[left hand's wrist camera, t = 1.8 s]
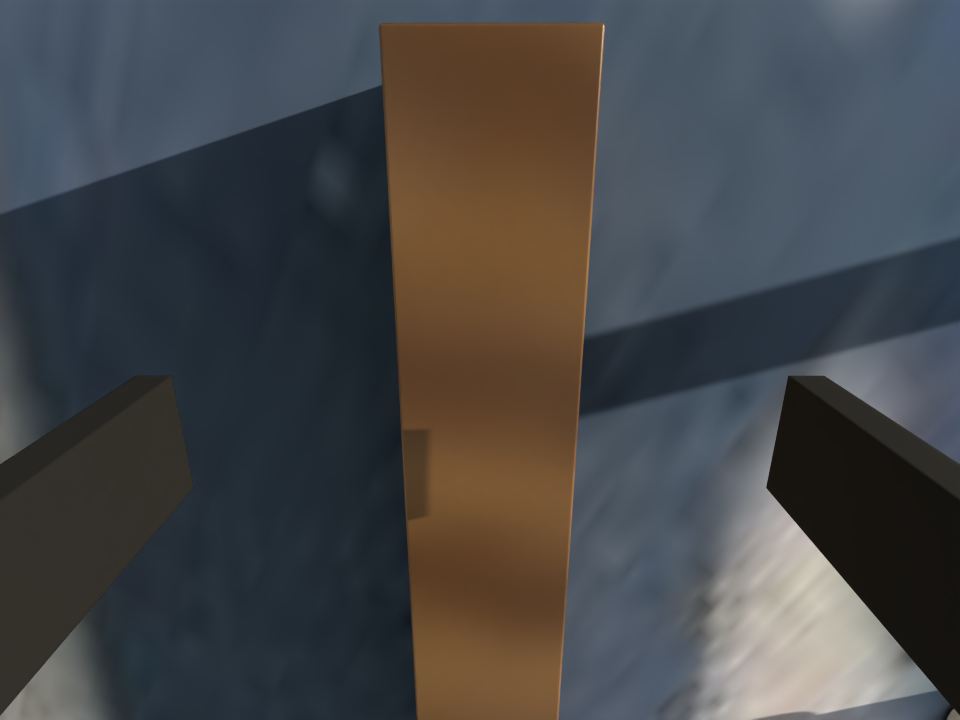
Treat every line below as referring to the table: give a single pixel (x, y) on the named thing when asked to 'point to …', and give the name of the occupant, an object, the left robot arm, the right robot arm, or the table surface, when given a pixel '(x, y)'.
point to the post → (489, 344)
